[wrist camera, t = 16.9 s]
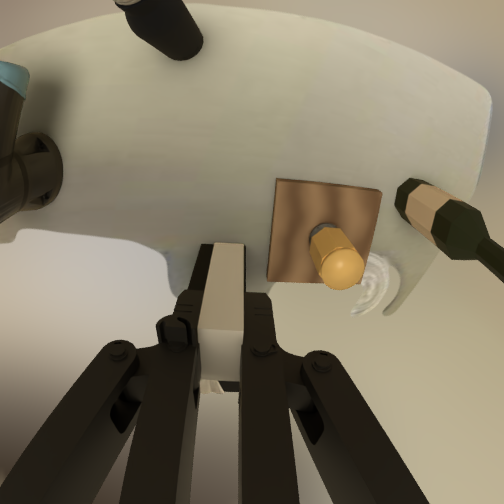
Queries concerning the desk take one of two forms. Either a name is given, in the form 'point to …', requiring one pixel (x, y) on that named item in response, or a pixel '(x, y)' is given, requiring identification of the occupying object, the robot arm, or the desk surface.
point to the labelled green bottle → (449, 224)
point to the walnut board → (310, 215)
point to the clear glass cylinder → (320, 227)
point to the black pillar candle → (199, 283)
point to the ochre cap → (336, 259)
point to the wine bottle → (164, 26)
